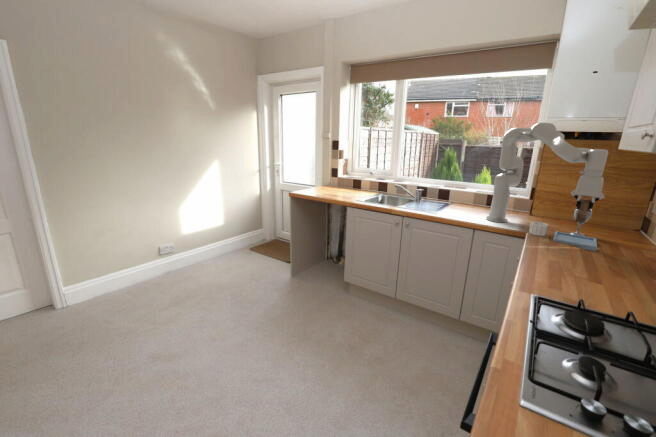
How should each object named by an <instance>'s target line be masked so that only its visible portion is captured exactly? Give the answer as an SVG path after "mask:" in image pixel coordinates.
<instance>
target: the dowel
mask: <svg viewBox="0 0 656 437" xmlns="http://www.w3.org/2000/svg"><path fill="white" fill-rule="evenodd" d="M580 201H581V202H580V206H579V209H578V213H577V217H576V220H575V219H574V220H575V222H576V223H577V222H580V223H583V224H585V223H586V222H585V220H586V217H587V213H588V209H589V205H590V202H591V201H592V199H588V198H581V200H580Z"/></svg>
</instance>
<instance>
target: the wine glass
mask: <svg viewBox="0 0 656 437" xmlns="http://www.w3.org/2000/svg"><path fill="white" fill-rule="evenodd" d="M578 209H579V208H577V207H575V208H574V213H573V218H574V220H576V217H577V213H578ZM592 215H593V210H592V209H590V210H588V213H587V217H586V220H585V223H587V222H588V221H589V220H590V219H591V217H592ZM576 223H577V230H576V231H572V232H569V234H574V235H580V236H585V235H586V234H584V233H581V232H579V231H580V228H581V226H582V225H584V223H580V222H576ZM585 237H586V236H585Z"/></svg>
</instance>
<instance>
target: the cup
mask: <svg viewBox="0 0 656 437" xmlns="http://www.w3.org/2000/svg"><path fill="white" fill-rule="evenodd" d="M548 227H549V224H548V223H545V222H543V221H531V222H530V224H529V229H528V233H529V234H531V235H535V236H539V237H544V236H546V235H547V230H548Z"/></svg>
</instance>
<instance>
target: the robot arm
mask: <svg viewBox="0 0 656 437" xmlns="http://www.w3.org/2000/svg"><path fill="white" fill-rule="evenodd" d="M501 141H502V142H501V152H500V157H499V163H498V167H499V169H500V170H502V171H503V172H502V173H501V172H500V173H499V174H497V175H496V176H495V178H494V179H493V193H492V200H491V204H490V210H489V211H488V213H487V214H489V215H487V216H486V217H485V218H486V220H487V221H491V222H494V223H507V222H508V219H507V218H506V217H507V216H506V215H507V213H508V212H507V211H508V207H509V206H508V205H509V201H510V196H511V191H510V188H514V187H517V186H519V185H520V183H521V182H522V177H523V172H524V171H523V170H524V165H525V162H524V159H523V158H522V157H521V156H519V155H517V151H518V146H517V143H528V142H529V143H530V142H535V141H540V142H542V144H543V143H544V144H545V145H546V146H548V147H549V148H550V149H551V151H552V152H553V153H554V154H555V155H557V156H558V157H559V158H561V159H563V160H564V161H566V162H568V163H573V164H576V163H579V164H580V163H581V164H582V163H585V166H584V169H583V170H580V171H579V174H582V175H580V177H579V179H578V180H577V184H576V188H574V190H572V191H570V194H569V195H571V196H572V197H573V198H574V199H576V204H575V207H576V208H579V206H580V202H581V199H582V197H590V198H591V202H590V205H589V209H588V210H591V209H593V207H594V204H595V203H596V202H598V201H600V200H602V199H605V198H606V196H605V195H604V193H603V192H602V191H603V188H604V181H605V180H604V179H605V178H604V177H603V176H604V175H603V174H604V171H605V167H606V163H607V159H608V156H609V150H608V149H604V148H602V149H601V148H593V149H592V148H586V147H575V146H573V145H572V144H570V143H568V142H567V141H566V139H565V134H563V133H562V132H560V131H559V130H557V127H556V126H555V125H554V123H551V122H538V123H535V124H534V125H533V126H531V127H514V128H510V129H509V130H507V131H506V133H504V135H503V137H502V140H501ZM504 171H505V172H504ZM506 171H507V172H506Z"/></svg>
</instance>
